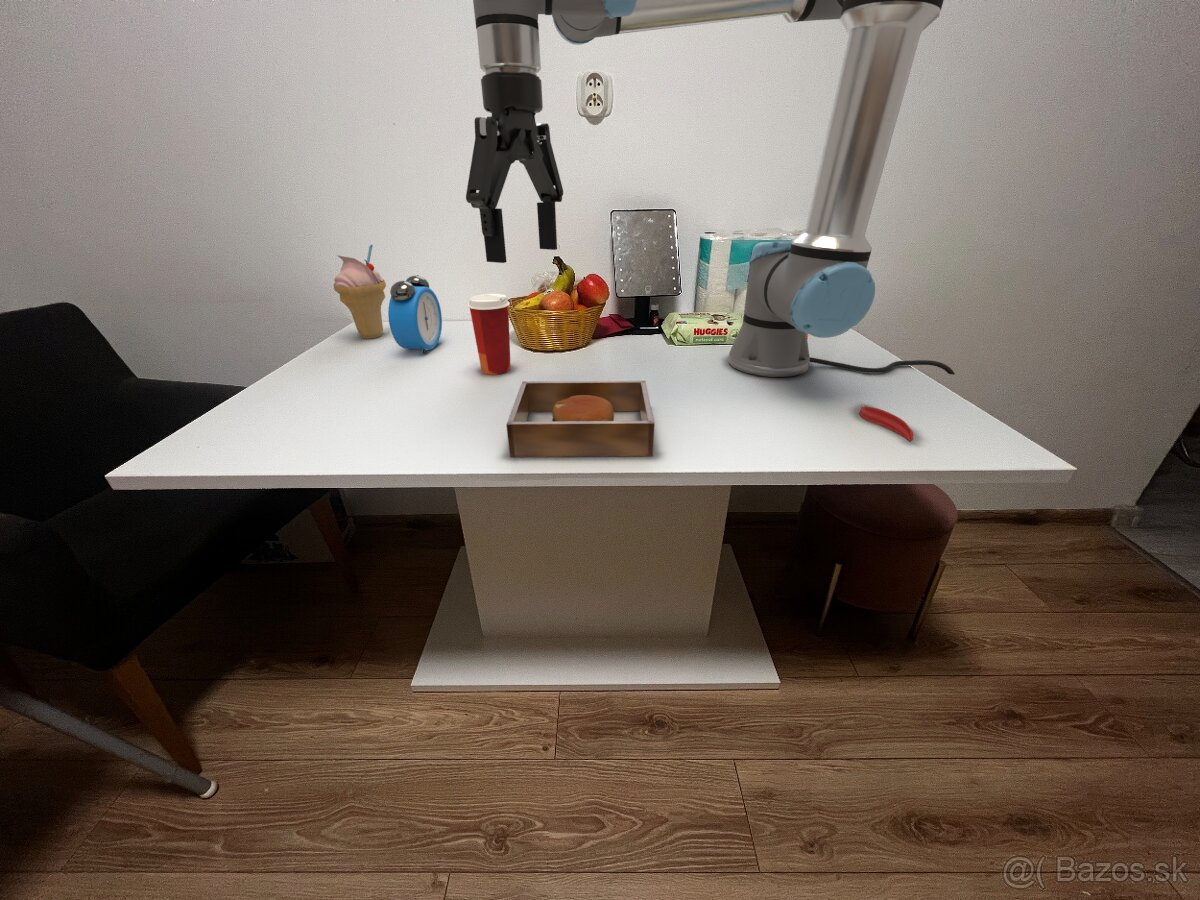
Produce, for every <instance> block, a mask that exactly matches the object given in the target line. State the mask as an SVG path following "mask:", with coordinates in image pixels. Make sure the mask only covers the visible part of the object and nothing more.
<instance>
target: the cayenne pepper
mask: <svg viewBox="0 0 1200 900" xmlns="http://www.w3.org/2000/svg"><path fill="white" fill-rule="evenodd" d="M858 414H859V415H860V417H861V418H862V419H864V420H866V421H867V422H870V423H873V424H876V425H879V426H882V427H884V428H886V429H888V430H890V431H892V432H894V433H896V434H898V435H899V436H902V437H903V438H905V439H906V440H907V441H909V442H912V441H913V439H914V431H913V430H912V428H911V427H910V426H909V425H908V423H906V421H905V420H903V419H902V418H900V417H899V416H897V415H895V414H893V413H891V412H889V411H886V410H883V409H881V408H877V407H873V406H867V405H863V406H861V407H860V409H859V412H858Z"/></svg>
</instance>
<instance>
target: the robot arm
mask: <svg viewBox="0 0 1200 900" xmlns="http://www.w3.org/2000/svg"><path fill="white" fill-rule="evenodd" d="M944 1H945V0H472V3H473V12H474V22H475V29H476V37H477V39H476V40H477V48H478V59H479V68H480V70H481V71H482V72H484V73H485V74H484V75H483V76H482V77H481V79H480V84H481V85H480V86H481V96H482V106H483V109H484V111H485V112H486V113H488V114H489V113H490V114H491V115H490V116H476V117H475V118H474V144H473V150H472V156H471V163H470V168H469V174H468V181H467V187H466V193H465V200H466V202H467V203H468V204H470V205H471V206H470V207H472V208H473V209H478V210H479V216H480V217H479V218H480V225H481V233H482V235H483V240H484V248H485V249H484V250H485V257H486V262H487V263H497V264H506V263H507V252H506V250H507V249H506V241H505V240H506V239H505V231H504V219H503V218H504V217H503V210H502V208H498V204H499V201H500V198H501V196H502V193H503V189H504V186H505V184H506V180H507V178H508V174H509V172H510V168H511V166H512V164H514V163H515V162H516V161H518V162H519V163H520V164H522V165H523V166H524V169H525V171H526V173H527V175H528V178H529V179H530V181H531V183H532V185H533V188H534V189H535V192H536V193H537V196H538V198H539V200H540V202H539V201H538V202H536V210H537V227H538V242H539V243H538V244H539V250H551V251H556V250H558V238H557V237H558V234H557V213H556V203H561V202H562V201H563V196H564V188H563V183H562V180H561V176H560V173H559V169H558V164H557V161H556V157H555V154H554V150H553V146H552V142H551V131H550V125H549V123H544V122H543V123H537V122H536V117H535V116H536V114H538V113H541V112H542V111H543V108H544V105H543V103H544V102H543V87H542V86H543V85H542V83H543V82H542V79H540V76H538V73H540V71H541V70H542V61H541V60H542V59H541V48H540V47H541V45H540V31H539V30H540V29H539V27H540V26H539V15H545V16H551V17H552V21H553V25H554V27H555V29H556V32H558V34H559V35H560V37H561V38H562V39H563V40H564V41H565V42H567V43H569V44H571V45H580V46H581V45H584V44H588V43H589V42H592V41H593V40H595V38H602V37H603V38H604V37H611V36H616V35H620V34H629V33H639V32H647V31H655V30H665V29H673V28H680V27H681V28H682V27H691V26H698V25H706V24H707V25H708V24H715V23H716V24H717V23H724V22H733V21H740V20H750V19H758V18H769V17H775V16H782V17H783V18H784V20H785V21H786V22H787V23H790V24H791V23H798V22H799V23H800V22H812V21H830V20H831V21H832V20H839V21H840V23H841V25H842V26H843V28H844V30H845V31H846V33H847V40H846V45H845V50H844V54H843V57H842V58H843V59H842V63H841V67H840V72H839V76H838V81H837V85H836V90H835V93H834V98H833V103H832V107H831V112H830V116H829V120H828V124H827V130H826V134H825V139H824V143H823V147H822V152H821V156H820V160H819V165H818V168H817V169H818V170H817V174H816V178H815V183H814V187H813V192H812V196H811V201H810V205H809V210H808V214H807V217H806V223H805V226H804V227H805V228H804V229H803V231H802V232H801V233H800V234H799V235H797V236H796V237H795V238H793V240H787V241H785V240H784V241H761V242H757V243H756V244H755V245H754V246H753V247H752V248H753V249H752V251H751V255H750V260H749V263H748V265H749V267H748V275H747V276H748V277H747V284H746V294H745V301H744V308H743V309H744V310H743V318H742V324H741V327H740V328H739V331H738V333H737V335H736V337H735V339H734V342H733V344H732V346H731V348H730V350H729V354H728V364H729V365H730V366H731V367H732V368H734V369H736V370H738V371H740V372H742V373H746V374H749V375H753V376H759V377H769V378H787V377H795V376H799V375H803V374H805V373H806V372H807V371H808V370H809V366H810V363H814V364H819V365H825V366H828V367H829V366H830V367H835V368H840V369H845V370H848V371H849V370H850V371H854V372H860V373H870V374H881V373H886V372H888V371H890V370H892V369H894V368H896V367H900V366H933V367H937V368H939V369H942V370H943V371H945V372H946V373H947V374H948V375H955V374H956V373H955V372H954V370H953V369H952V368H951V366H949V365H947V364H945V363H943V362H940V361H937V360H928V359H915V360H895V361H893V362H891V363H889V364H888V365H886V366H883V367H865V366H864V367H863V366H857V365H853V364H849V363H842V362H839V361H838V362H837V361H833V360H832V361H831V360H827V359H822V358H816V357H810V356H811V355H810V350H809V343H808V342H809V341H808V337H807V335H810V336H813V337H816V338H820V339H825V338H826V339H828V338H834V337H838V336H841V335H843V334H845V333H847V332H848V331H849V330H851V329H852V328H853V327H856V326H857V325H858V324H859V323H860V322H861V321H862V320H863V319H864V318H865V317H866V315H867V314H868V312H869V311H870V309H871V307H872V305H873V302H874V300H875V295H876V283H875V280H874V279H873V276H872V273H871V272H870V270H868V269H867V268H868V266H869V265H868V264H869V261H870V257H871V253H872V250H873V248H872V246H871V244H870V243H869V241H868V240H867V238H866V232H867V229H868V225H869V221H870V217H871V215H872V210H873V207H874V204H875V200H876V196H877V193H878V189H879V185H880V182H881V177H882V174H883V171H884V167H885V164H886V160H887V157H888V153H889V149H890V145H891V142H892V138H893V135H894V132H895V129H896V124H897V121H898V117H899V115H900V110H901V106H902V103H903V99H904V95H905V93H906V88H907V85H908V81H909V77H910V74H911V70H912V67H913V63H914V59H915V55H916V54H917V53H916V52H917V49H918V45H919V42H920V38H921V35H922V33H923V32H924V31H925V30H926V29H927V28H928V27H930V25H931V24H932V23H934V22H935V21H936V20H937V19H938V18H939V17H940V14H941V12H942V9H943V8H942V7H943V5H944Z"/></svg>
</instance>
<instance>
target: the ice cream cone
mask: <svg viewBox="0 0 1200 900" xmlns="http://www.w3.org/2000/svg"><path fill="white" fill-rule="evenodd" d="M372 251H373V244H370V245H369V246H368V251H367V257H366V259H364V261H365V263H363V262H362V261H361V260H358V259H356V258H354V257H349V256H345V255H344V256H343V255H337V254H336V256H337V257H338V258H339V259H340V260H341V261H342V265H341V267H340V271H339V273H338V274H337V275H336V276H335V277H334V283H333V290H334V291H335V292H336V293H337V294H339V301H340V302H341V303H342V304H343V305H345V306H346V307H347V308H348V310H349V312H350V313H351V316H352V317H351V318H352V319H353V322H354V325H355V327H356V330H357V332H358V334H359V335H360V337H361V338H362V339H365V340H371V339H377V338H379V337H382V334H383V332H384V326H383V317H382V316H383V315H382V304H383V302H384V300H385V298H386V295H385V291H384V290H385V288H386V287H387V283H386V280H385V279H384V278H383V277H382V276H381V274H380V273H379V272H378V270H377V271H376V270H375V266H374V264H372V263H370V261H371V256H372Z"/></svg>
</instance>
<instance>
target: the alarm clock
mask: <svg viewBox="0 0 1200 900" xmlns="http://www.w3.org/2000/svg"><path fill="white" fill-rule="evenodd" d="M389 292H390V299H389V303H388V309H387V314H388V317H387V318H388V324H389V329H390V333H391V335H392V337H393V339H394V342H395V343H396V344H397V345H398V346H399V347H401V348H402V349H403V350H422V353H423V355H425V354H426V351H429V350H432V349H435V348H436V346H437V345H438V343H439V341H440V339H441V335H442V328H443V317H442V308H441V305H440V302H439V299H438V297H437V295H436V293H435V292H434V290H432V289H431V288H430V283H429V281H428V280H427V278H425V277H423V276H420V275H419V274H416V275H411V276H409V277H407V279H406V280H399V281H396V282H395V283H393V284H392V285H391V287H390V291H389Z"/></svg>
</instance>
